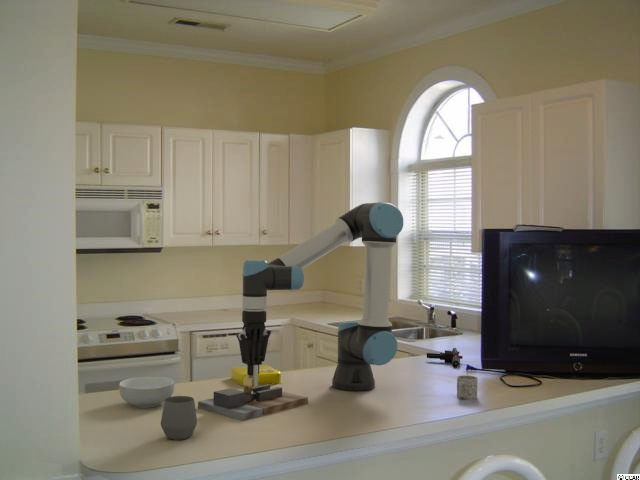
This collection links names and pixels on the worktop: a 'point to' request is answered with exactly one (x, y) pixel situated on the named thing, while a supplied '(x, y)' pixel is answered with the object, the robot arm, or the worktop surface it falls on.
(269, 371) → the element tile
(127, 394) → the cereal bowl
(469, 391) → the mug
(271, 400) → the door and jamb
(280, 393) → the bolt housing
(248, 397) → the bolt
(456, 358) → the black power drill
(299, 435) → the worktop surface
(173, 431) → the cup
